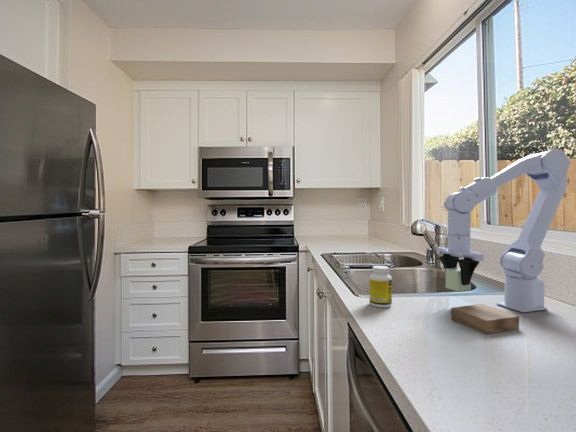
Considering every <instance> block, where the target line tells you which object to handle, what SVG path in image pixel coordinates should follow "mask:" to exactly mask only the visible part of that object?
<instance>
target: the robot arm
mask: <svg viewBox="0 0 576 432" xmlns="http://www.w3.org/2000/svg"><path fill="white" fill-rule="evenodd" d="M571 164H572V163H571V161H570V159H569V157H568V155H567V154H566V153H565V152H564V151H563V150H561V149H558V148H553V149H549V150H547V151H544V152H539V153H530V154H528V155H526V156H525V157H522V158H519V159H518V160H516V161H514V162H513V163H511V164H510V165H508V166H507V167H505V168H503V169H502V170H501V171H499V172H497V173H495V174H494V175H492V176H491V177H488V176H487V177H486V176H483V177H481V176H479V177H475V178H474V179H473V181H474V182H471V183H470V184H468V185H467V186H461V187H460V188H459V191H458V192H452V193H450V194H449V195H447V198H446V199H445V201H444V202H443V206H444V208H445V209H446V211H447V247H443V246H439V247H436V254H437V255H442V256H439V258H438V259H439V260H440V262H441V264H442V265H443V268H444V272H445V273H446V268H458V267H457V266H459V268H460V271H461V283H462V285H469V284H470V281H471V282H472V277H473V274H474V273H475V270H476V268H477V266H478V265H479V264H480V262H483V261H484V253H483V252H482V253H480V252H479V251H478V252H477V251H473V250H471V223H472V222H471V218H472V217H471V212H472V211H474V209H475V206H477V205H479V204H481V203H482V202H484V201H486V200H487V199H488V198H490V197H492V196H494V195H496V194H497V192H498V191H497V190H498V188H500V187H501V186H503V185H505V184H507V183H509V182H510V181H512V180H515V179H516V178H519V177H520V176H522V175H526V176H527V177H528V178H530V179H531V180H532V181H533V182H534V183H536V185H537V186H538V188H539V190H538V193H537V196H536V197H535V200H534V202H533V204H532V206H531V209H530V212H529V213H528V216H527V218H526V220H525V222H524V224H523V227H522V229H521V231H520V233H519V236H518V237H517V240H515V241H513V242H512V243H510V244H509V246H508V248H507V250H505V251H504V252H503V253H502V254H501V255H500V258H499V263H500V266H501V268H502V269H503V270H504V271H503V272H504V301H501V302H500V301H499V302H496V305H498V306H501V307H504V308H508V309H511V310H514V311H517V312H520V313H530V312H536V311H538V312H539V311H544V310H548V307H546V306H545V293H546V292H545V290H546V288H545V283H544V281H543V279H541V277H539V275H540V274H541V273H542V272H543V271H544V270H543V269H544V260H545V259H544V258H545V255H546V253H545V252H544V251H543V249H542V244H543V242H544V239H545V237H546V235H547V233H548V230H549V228H550V227H551V224H552V222H553V219H554V217H555V215H556V212H557V211H558V208H559V207H560V204H561V202H562V199H563V197H564V195H565V193H566V190H567V186H568V170H569V169H570V166H571ZM460 258H461V259H460Z"/></svg>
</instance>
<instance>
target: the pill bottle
mask: <svg viewBox="0 0 576 432" xmlns="http://www.w3.org/2000/svg"><path fill="white" fill-rule="evenodd" d="M372 272H373V273H371V274H370V275H369V304H370V306H371V307H374V308H381V309H382V308H384V309H387V308H390V307H391V306H392V303H393V302H392V301H393V298H392V297H393V294H392V292H393V276H391V275H390V274H389V273H390V267H389V266H385V265H374V266H373V265H372Z"/></svg>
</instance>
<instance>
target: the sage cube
mask: <svg viewBox="0 0 576 432" xmlns="http://www.w3.org/2000/svg"><path fill="white" fill-rule="evenodd" d="M471 283H472V280H471V281H470V284H469V285H462V283H461V271H460V267H457V268H446V272H445V288H446V289H449V290H452V291H456V292H466V291H471V289H472V284H471Z"/></svg>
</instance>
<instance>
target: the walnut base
mask: <svg viewBox="0 0 576 432" xmlns="http://www.w3.org/2000/svg"><path fill="white" fill-rule="evenodd" d="M450 313H451V314H450V315H451V318H450V319H451V320H452V321H453V322H456V323H459V324H461V325H462V326H463V325H464V326H466V327H468V328H470V329H473V330H475V331H477V330H478V331H477V332H480V333H482V334H485V335H489V334H495V333H496V334H497V333H502V332H508V331H515V330H520V316H519V315H518V314H513V313H510V312H507V311H504V310H501V309H498V308H495V307H492V306H489V305H486V304H482V303H481V304H480V303H479V304H473V305H472V304H471V305H463V306H456V307H451V311H450Z"/></svg>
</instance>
